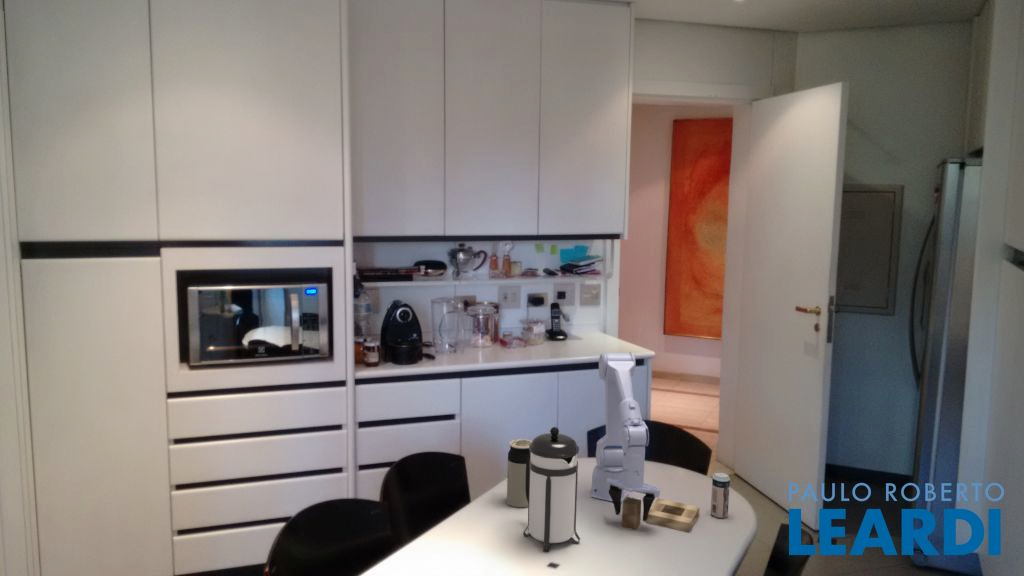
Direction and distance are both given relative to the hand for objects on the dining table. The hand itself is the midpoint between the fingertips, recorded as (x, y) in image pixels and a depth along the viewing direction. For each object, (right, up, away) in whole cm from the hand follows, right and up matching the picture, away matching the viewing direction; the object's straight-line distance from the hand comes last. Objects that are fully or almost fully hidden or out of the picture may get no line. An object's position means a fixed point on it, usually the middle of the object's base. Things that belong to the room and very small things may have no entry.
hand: (631, 516), depth 186 cm
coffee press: (-23, -3, -8) cm, 25 cm away
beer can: (+26, -3, +8) cm, 28 cm away
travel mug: (-30, -1, +14) cm, 33 cm away
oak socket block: (+13, -2, +5) cm, 14 cm away
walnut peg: (0, -3, 0) cm, 3 cm away
